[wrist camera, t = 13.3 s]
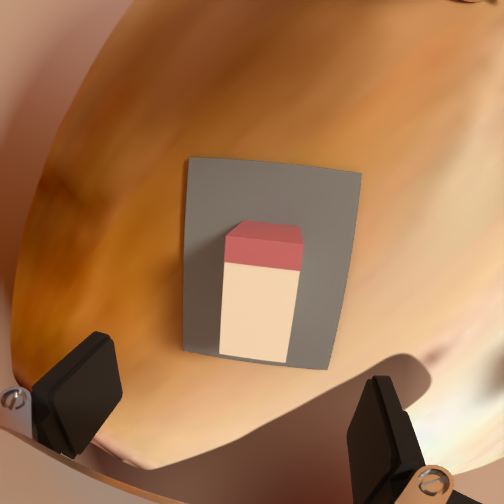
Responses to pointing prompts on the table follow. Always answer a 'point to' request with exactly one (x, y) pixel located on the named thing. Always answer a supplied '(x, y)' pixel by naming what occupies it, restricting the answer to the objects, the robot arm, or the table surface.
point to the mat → (279, 212)
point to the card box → (260, 289)
